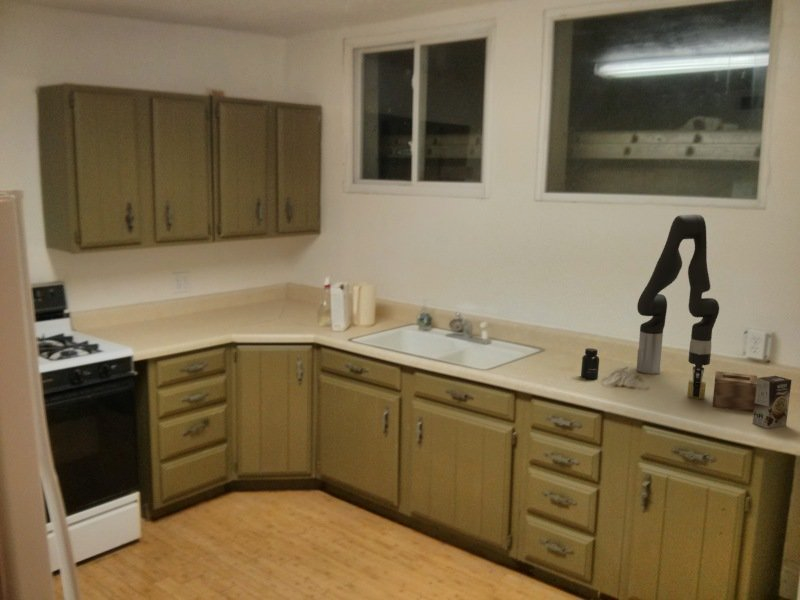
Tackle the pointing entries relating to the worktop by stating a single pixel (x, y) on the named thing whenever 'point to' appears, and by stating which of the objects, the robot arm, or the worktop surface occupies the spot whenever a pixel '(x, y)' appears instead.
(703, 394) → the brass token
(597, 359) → the supplement bottle
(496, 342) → the worktop surface
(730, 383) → the box
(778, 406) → the coffee box
